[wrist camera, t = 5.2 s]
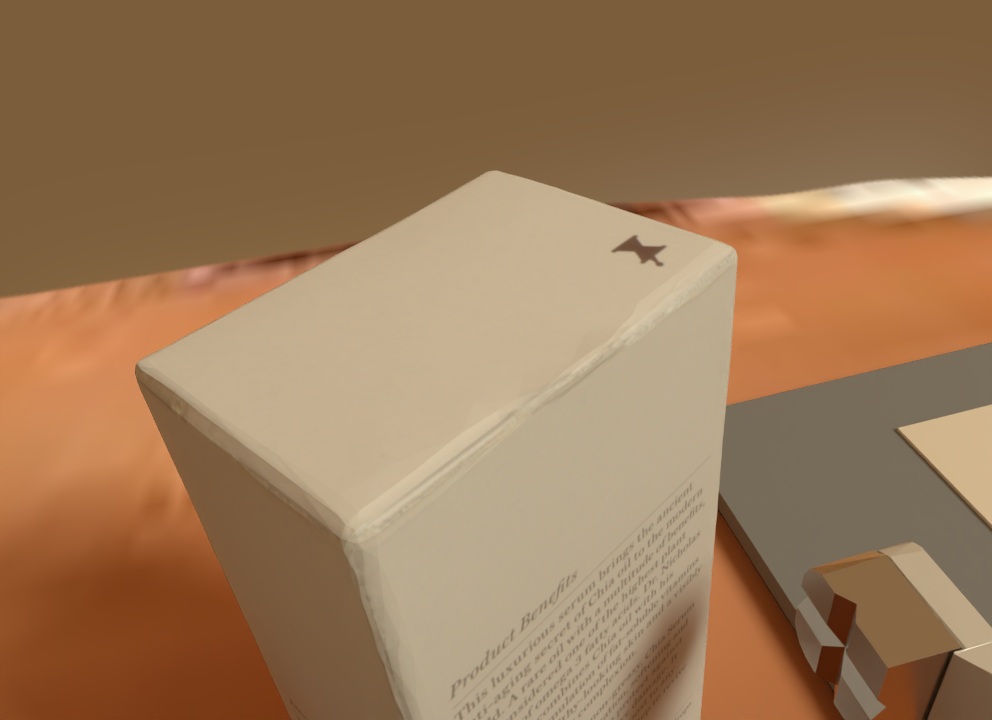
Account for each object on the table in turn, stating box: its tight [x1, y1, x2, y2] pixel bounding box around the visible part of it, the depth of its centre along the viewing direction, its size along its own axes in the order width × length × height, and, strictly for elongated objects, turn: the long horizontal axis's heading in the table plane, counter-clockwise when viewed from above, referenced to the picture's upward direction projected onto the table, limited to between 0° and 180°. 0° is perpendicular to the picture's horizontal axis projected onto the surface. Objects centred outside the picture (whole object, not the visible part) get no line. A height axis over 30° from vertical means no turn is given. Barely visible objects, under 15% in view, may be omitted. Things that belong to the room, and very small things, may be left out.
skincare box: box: [135, 171, 737, 720], centre depth 13 cm, size 6×4×12 cm
